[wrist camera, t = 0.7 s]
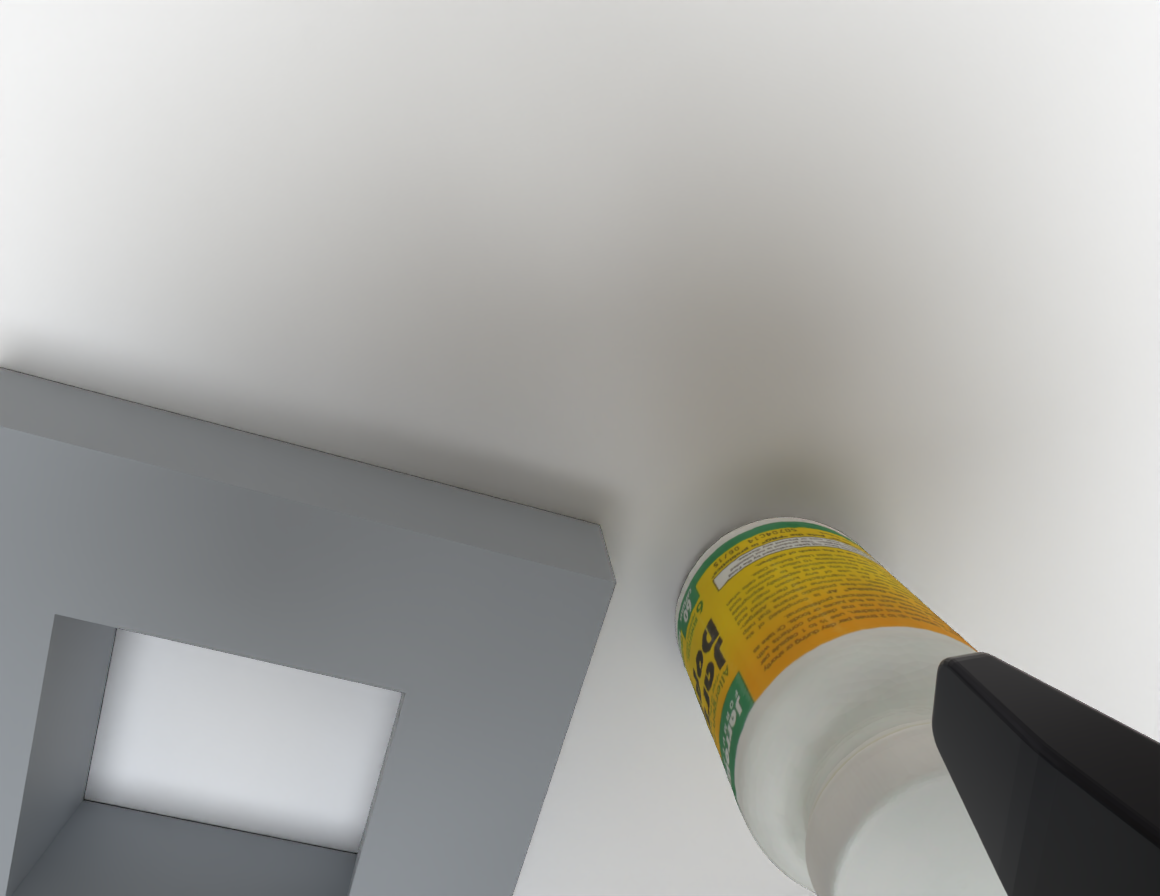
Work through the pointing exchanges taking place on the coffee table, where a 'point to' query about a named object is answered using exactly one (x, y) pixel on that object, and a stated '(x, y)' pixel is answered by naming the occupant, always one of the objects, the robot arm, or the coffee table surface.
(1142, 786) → the robot arm
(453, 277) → the coffee table surface
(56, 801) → the socket block
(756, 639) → the supplement bottle
